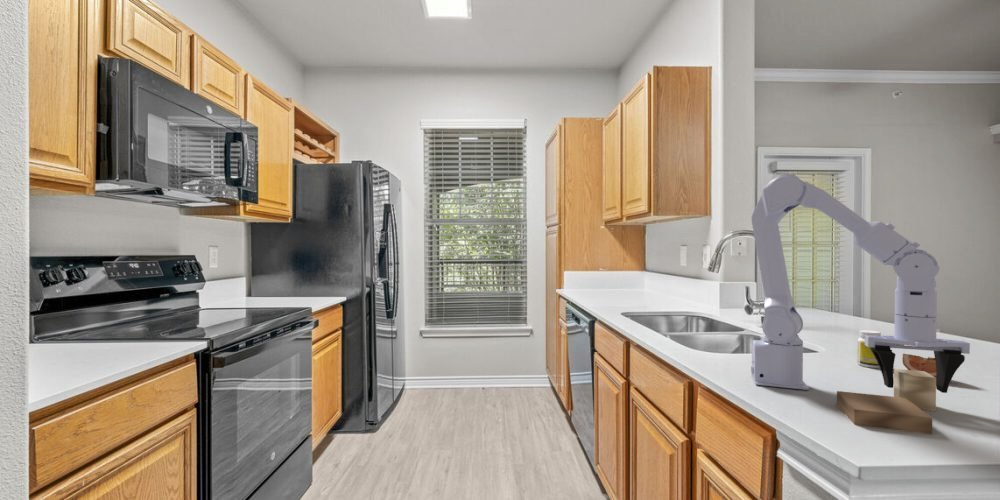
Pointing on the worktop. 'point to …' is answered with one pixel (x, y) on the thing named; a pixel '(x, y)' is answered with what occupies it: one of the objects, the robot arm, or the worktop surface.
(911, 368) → the fruit slice
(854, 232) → the robot arm
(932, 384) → the birch block
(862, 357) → the supplement bottle
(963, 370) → the worktop surface
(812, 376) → the worktop surface
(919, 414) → the walnut block
